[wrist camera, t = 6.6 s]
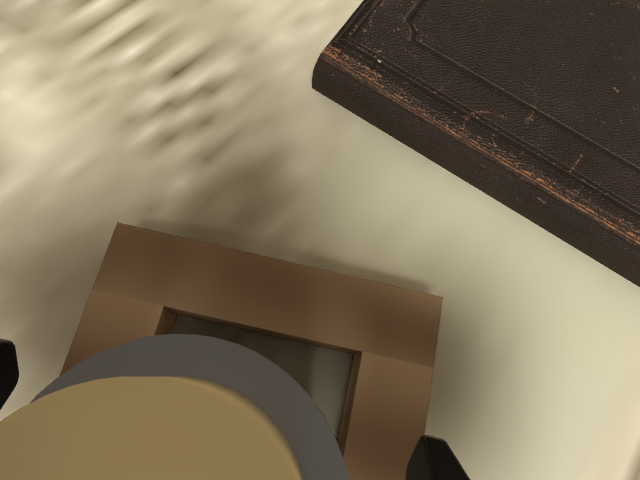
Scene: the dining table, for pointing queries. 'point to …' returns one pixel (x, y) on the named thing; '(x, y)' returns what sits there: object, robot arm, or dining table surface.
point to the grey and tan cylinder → (171, 418)
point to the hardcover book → (510, 104)
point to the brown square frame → (280, 328)
